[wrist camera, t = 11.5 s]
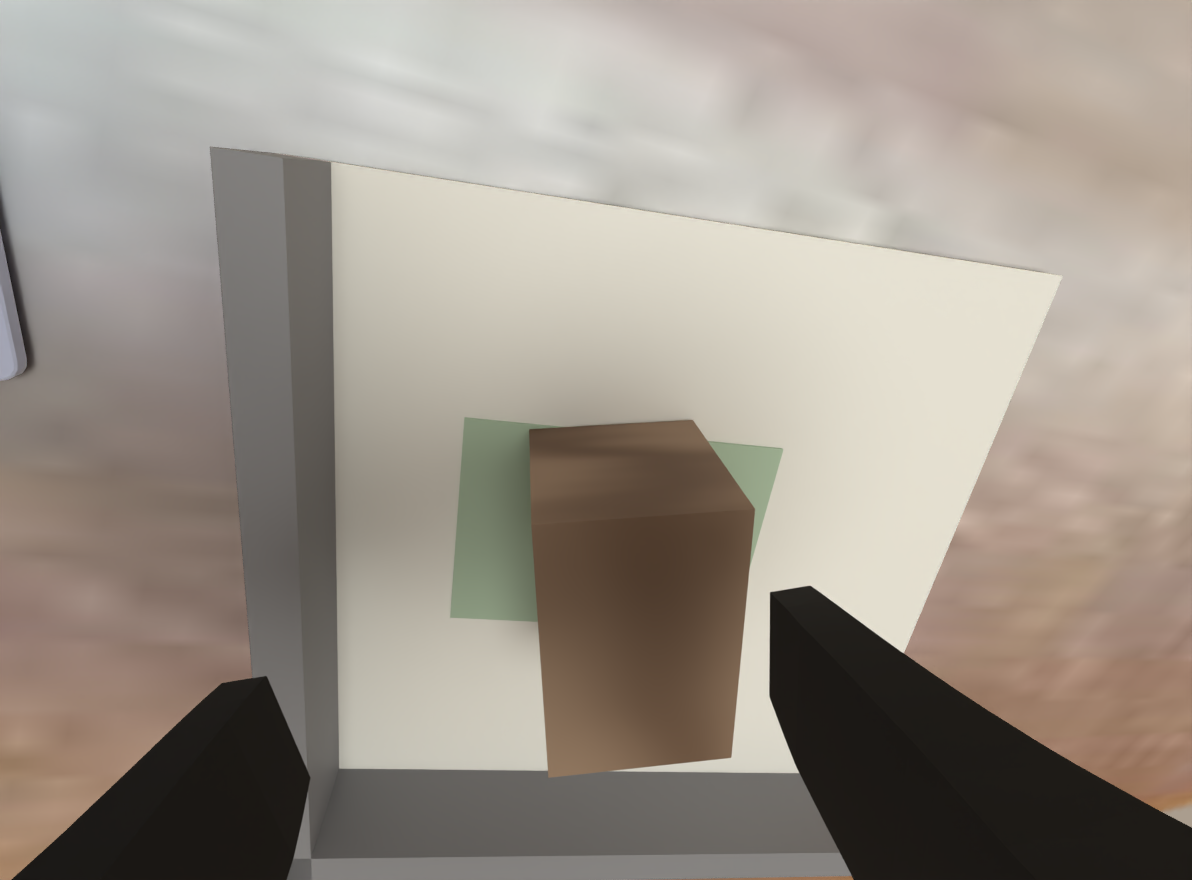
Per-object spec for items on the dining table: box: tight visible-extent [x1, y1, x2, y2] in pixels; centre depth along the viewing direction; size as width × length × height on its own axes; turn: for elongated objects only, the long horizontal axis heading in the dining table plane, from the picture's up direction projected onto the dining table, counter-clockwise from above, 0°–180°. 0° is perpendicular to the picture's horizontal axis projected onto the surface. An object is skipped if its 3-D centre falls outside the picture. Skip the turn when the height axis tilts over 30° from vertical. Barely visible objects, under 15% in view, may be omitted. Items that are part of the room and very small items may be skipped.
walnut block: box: [529, 420, 755, 778], centre depth 16 cm, size 4×7×5 cm, turn 1°
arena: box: [210, 147, 1063, 880], centre depth 18 cm, size 20×20×4 cm
